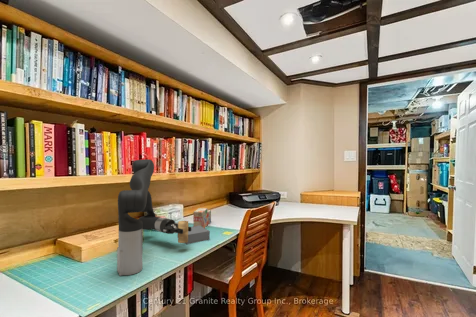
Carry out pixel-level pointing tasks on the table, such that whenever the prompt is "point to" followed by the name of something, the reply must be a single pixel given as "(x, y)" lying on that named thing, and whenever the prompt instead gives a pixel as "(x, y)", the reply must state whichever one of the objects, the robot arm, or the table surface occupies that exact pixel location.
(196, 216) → the printed cardboard box
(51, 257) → the table surface
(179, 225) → the cylinder
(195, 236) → the plinth
